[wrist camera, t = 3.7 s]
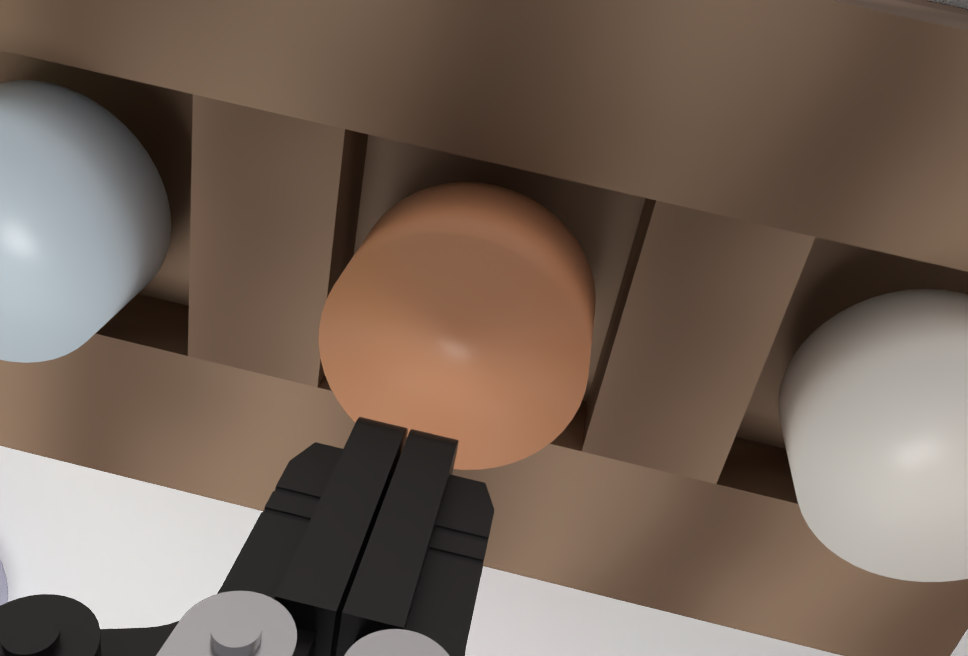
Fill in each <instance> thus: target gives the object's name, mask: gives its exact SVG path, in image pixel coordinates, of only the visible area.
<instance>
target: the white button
mask: <svg viewBox="0 0 968 656" xmlns="http://www.w3.org/2000/svg"><path fill="white" fill-rule="evenodd" d="M778 412H779V418H780V424H781V429H782V433H783V438H784V442H785V447H786V451H787V456H788V461H789V465H790V470H791V474H792V479H793V483H794V488H795V492H796V497H797V501H798V504H799V507H800V510H801V513H802V515H803V517H804V519H805V521H806V523H807V525H808V526H809V528H810V529H811V530H812V532H813V533H814V534H815V536H816V537H817V538H818V539H819V540H820V541H821V542H822V543H823V544H824V545H825V546H826V547H827V548H828V549H829V550H831V551H832V552H833V553H835V554H836V555H838V556H839V557H840V558H842V559H844V560H845V561H847V562H849V563H851V564H853V565H854V566H857V567H859V568H861V569H864V570H866V571H869V572H871V573H875V574H878V575H881V576H885V577H889V578H894V579H900V580H906V581H917V582H946V581H957V580H963V579H968V294H965V293H961V292H955V291H949V290H939V289H914V290H904V291H898V292H892V293H887V294H883V295H880V296H876V297H873V298H870V299H867V300H865V301H862V302H860V303H857V304H854V305H852V306H851V307H849V308H847V309H845V310H843V311H841V312H839V313H838V314H836V315H835V316H833V317H832V318H830V319H829V320H827V321H826V322H824V323H823V324H822V325H821V326H820V327H818V328H817V329H816V330H815V331H814V332H813V333H811V335H810V336H809V337H808V338H807V339H806V340H805V341H804V342H803V343H802V344H801V346H800V347H799V348H798V350H797V351H796V353H795V354H794V356H793V357H792V359H791V361H790V363H789V365H788V367H787V369H786V371H785V373H784V376H783V379H782V382H781V386H780V392H779V398H778Z"/></svg>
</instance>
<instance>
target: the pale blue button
mask: <svg viewBox="0 0 968 656" xmlns="http://www.w3.org/2000/svg"><path fill="white" fill-rule="evenodd" d="M170 237H171V213H170V207H169V202H168V197H167V194H166V191H165V187H164V184H163V181H162V179H161V177H160V175H159V173H158V170H157V168H156V166H155V164H154V163H153V161H152V159H151V158H150V156H149V154H148V153H147V151H146V150H145V148H144V147H143V146H142V144H141V143H140V142H139V140H138V139H137V138H136V137H135V136H134V135H133V133H132V132H131V131H130V130H129V129H128V128H127V127H126V126H125V125H124V124H123V123H122V122H121V121H120V120H119V119H117V118H116V117H115V116H114V115H113V114H112V113H110V112H109V111H108V110H106V109H105V108H104V107H102V106H101V105H99V104H98V103H96V102H95V101H93V100H91V99H89V98H88V97H86V96H84V95H82V94H80V93H78V92H76V91H73V90H71V89H69V88H66V87H63V86H59V85H56V84H53V83H48V82H42V81H36V80H14V81H6V82H2V83H0V360H4V361H10V362H22V363H30V362H42V361H48V360H53V359H56V358H59V357H62V356H65V355H67V354H69V353H71V352H72V351H74V350H76V349H78V348H79V347H80V346H82V345H83V344H84V343H85V342H87V341H88V340H89V339H90V338H91V337H92V336H93V335H94V334H95V333H96V332H97V331H98V330H100V329H101V328H102V327H103V326H104V325H105V324H106V323H107V322H108V321H109V320H110V319H111V318H112V317H113V316H115V315H116V314H117V313H118V312H119V311H120V310H121V309H122V308H123V307H124V306H125V305H126V304H127V303H128V302H129V301H131V300H132V299H133V298H134V297H135V296H136V295H137V294H138V293H139V292H140V291H141V290H142V289H143V288H144V287H146V286H147V285H148V284H149V282H150V281H151V280H152V279H153V278H154V277H155V276H156V274H157V273H158V271H159V269H160V268H161V266H162V265H163V262H164V260H165V257H166V255H167V252H168V248H169V243H170Z"/></svg>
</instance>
